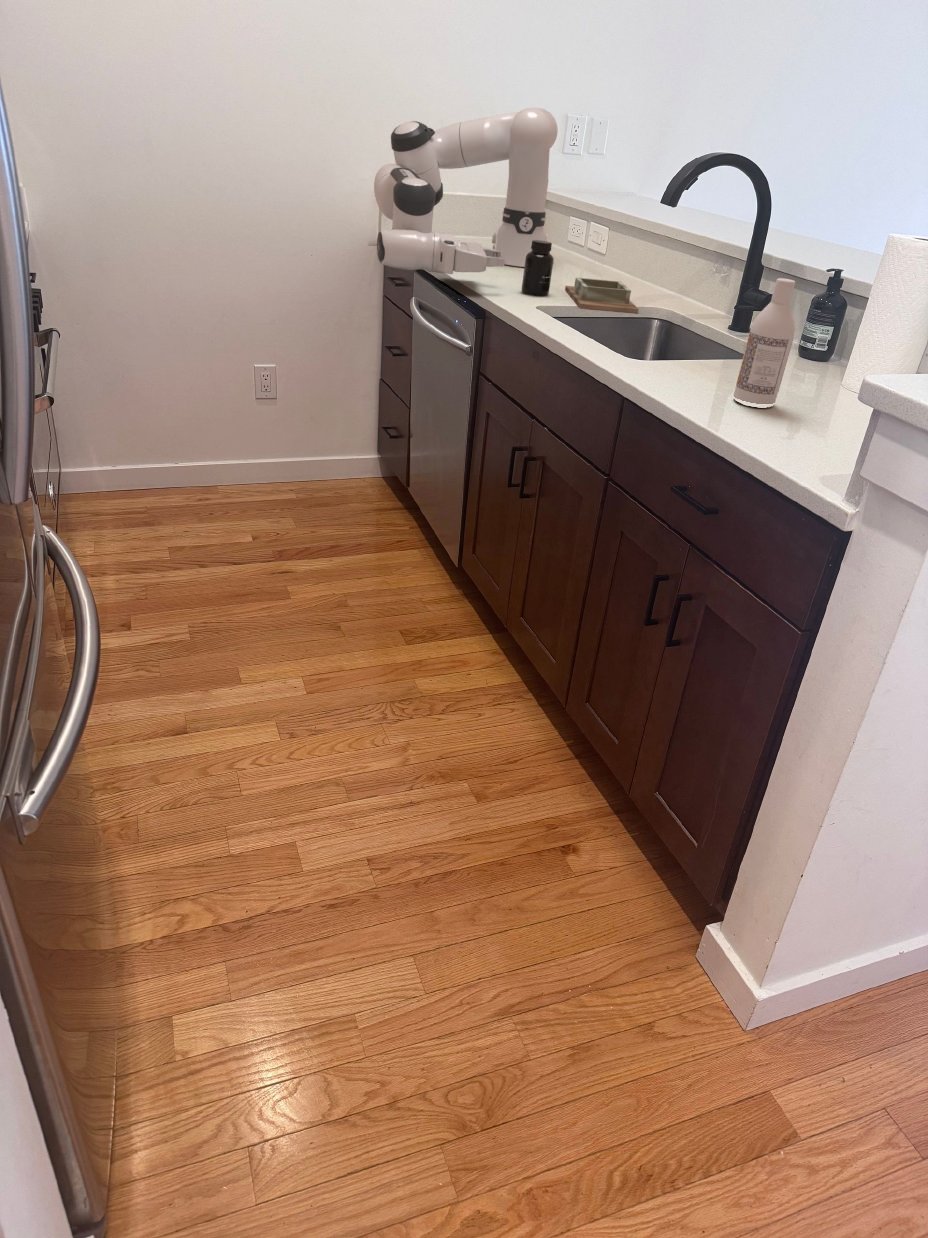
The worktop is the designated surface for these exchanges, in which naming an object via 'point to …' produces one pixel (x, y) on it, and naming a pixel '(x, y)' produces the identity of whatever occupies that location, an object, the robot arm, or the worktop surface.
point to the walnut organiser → (601, 295)
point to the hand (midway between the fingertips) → (502, 258)
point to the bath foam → (767, 348)
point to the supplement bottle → (538, 269)
